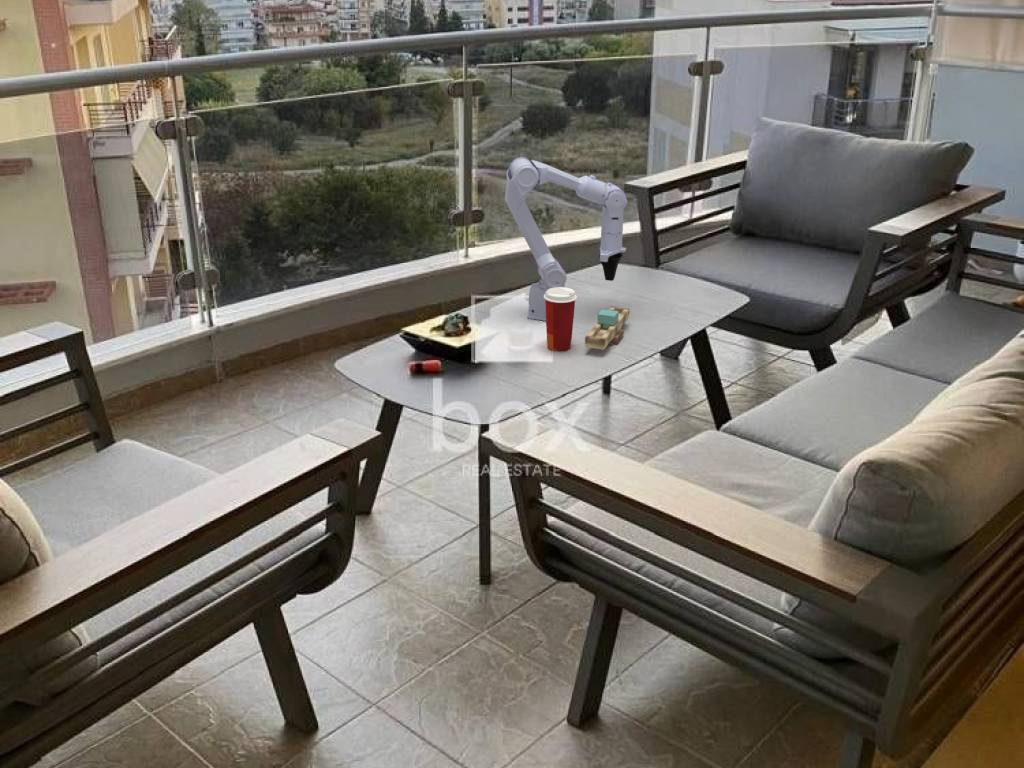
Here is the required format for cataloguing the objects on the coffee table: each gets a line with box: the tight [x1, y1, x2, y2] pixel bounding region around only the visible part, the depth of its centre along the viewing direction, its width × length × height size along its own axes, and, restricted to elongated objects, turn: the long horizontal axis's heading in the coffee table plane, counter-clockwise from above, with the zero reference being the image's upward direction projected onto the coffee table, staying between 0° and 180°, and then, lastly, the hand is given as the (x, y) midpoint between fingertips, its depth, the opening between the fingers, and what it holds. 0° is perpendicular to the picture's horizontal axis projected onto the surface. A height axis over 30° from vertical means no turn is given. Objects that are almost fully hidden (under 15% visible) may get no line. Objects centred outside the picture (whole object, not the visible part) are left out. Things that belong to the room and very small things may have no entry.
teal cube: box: [597, 308, 619, 329], centre depth 261 cm, size 4×4×4 cm
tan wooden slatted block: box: [584, 305, 630, 351], centre depth 263 cm, size 24×7×5 cm, turn 159°
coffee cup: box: [544, 286, 578, 353], centre depth 255 cm, size 8×8×15 cm
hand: (609, 279), depth 276 cm, fingers closed
